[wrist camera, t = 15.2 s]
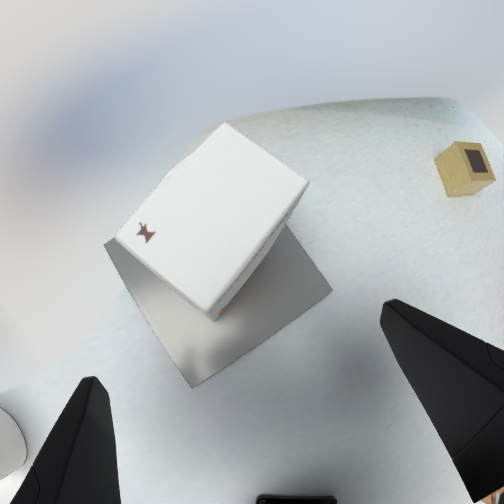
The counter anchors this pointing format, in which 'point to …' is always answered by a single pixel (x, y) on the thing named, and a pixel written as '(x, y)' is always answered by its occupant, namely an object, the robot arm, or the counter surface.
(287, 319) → the slate pad
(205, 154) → the skincare box
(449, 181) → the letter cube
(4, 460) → the mug
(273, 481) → the counter surface
